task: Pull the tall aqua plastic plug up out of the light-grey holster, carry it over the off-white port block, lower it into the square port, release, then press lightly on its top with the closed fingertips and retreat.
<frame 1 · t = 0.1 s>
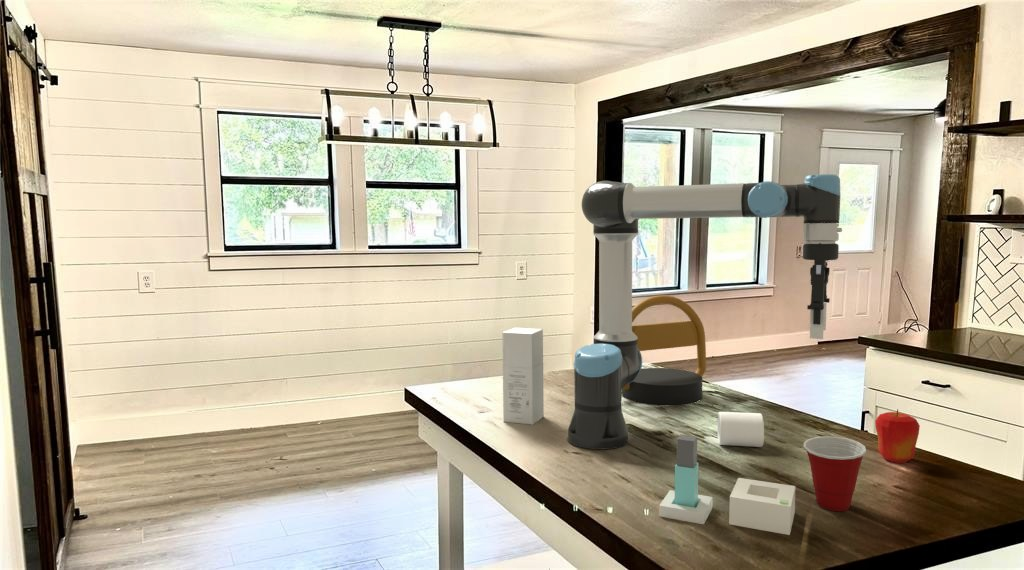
hand: (818, 334, 160), 28 cm above the countertop, fingers open, 13 cm apart
plastic cup: (832, 506, 132), on the countertop
chair: (661, 395, 217), on the countertop
holster: (686, 516, 127), on the countertop
port: (762, 523, 124), on the countertop
tall white carton: (523, 419, 192), on the countertop
apple: (895, 460, 157), on the countertop
plug: (686, 511, 127), point 1 cm above the countertop, touching holster
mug: (738, 443, 170), on the countertop
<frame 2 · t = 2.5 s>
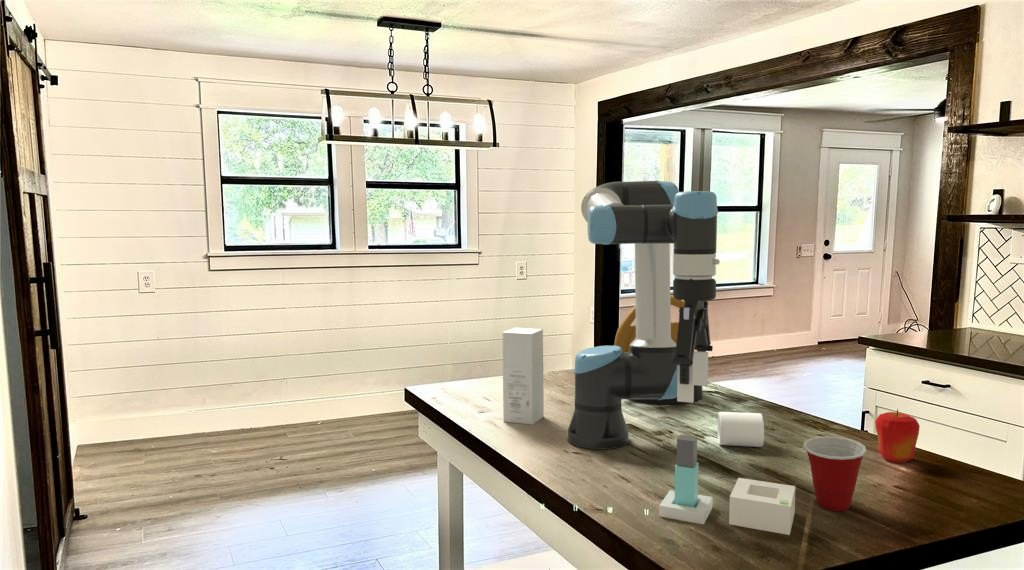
hand: (693, 393, 126), 23 cm above the countertop, fingers open, 13 cm apart
nothing on the countertop moved.
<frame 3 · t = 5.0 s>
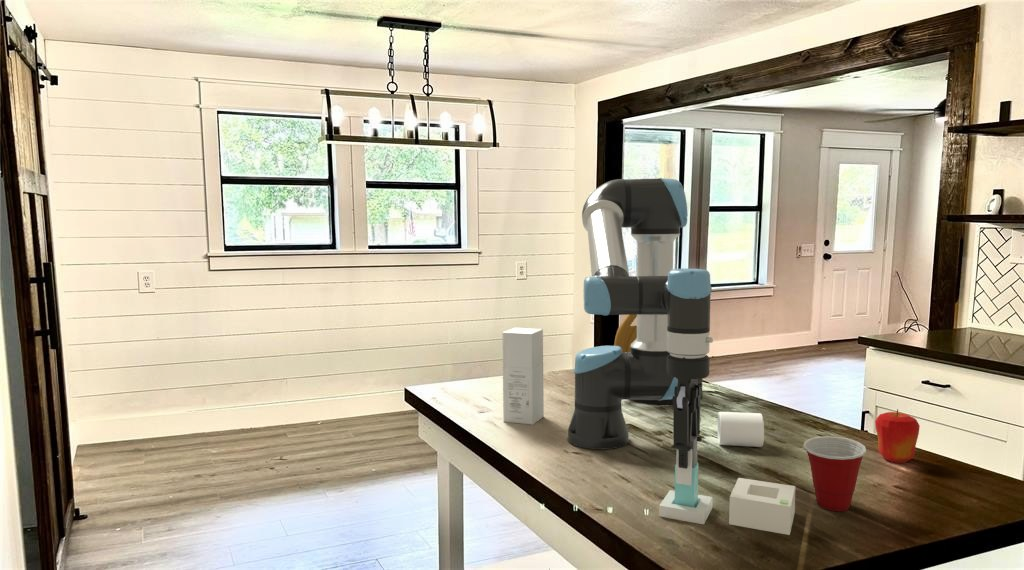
hand: (686, 479, 127), 7 cm above the countertop, fingers closed on plug, 3 cm apart
plug: (686, 511, 127), point 1 cm above the countertop, touching gripper, holster
everything else where it was.
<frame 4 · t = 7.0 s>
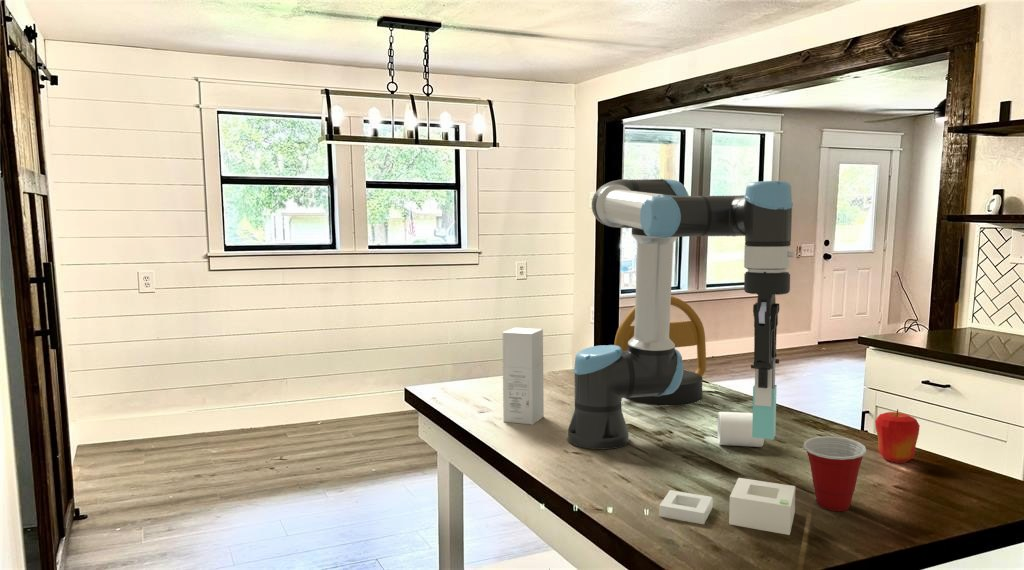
hand: (764, 402, 122), 22 cm above the countertop, fingers closed on plug, 3 cm apart
plug: (763, 435, 123), point 16 cm above the countertop, touching gripper
everything else where it was.
when the fingers open (8 cm above the countertop, at t = 9.2 s): plug stays where it is, resting on port.
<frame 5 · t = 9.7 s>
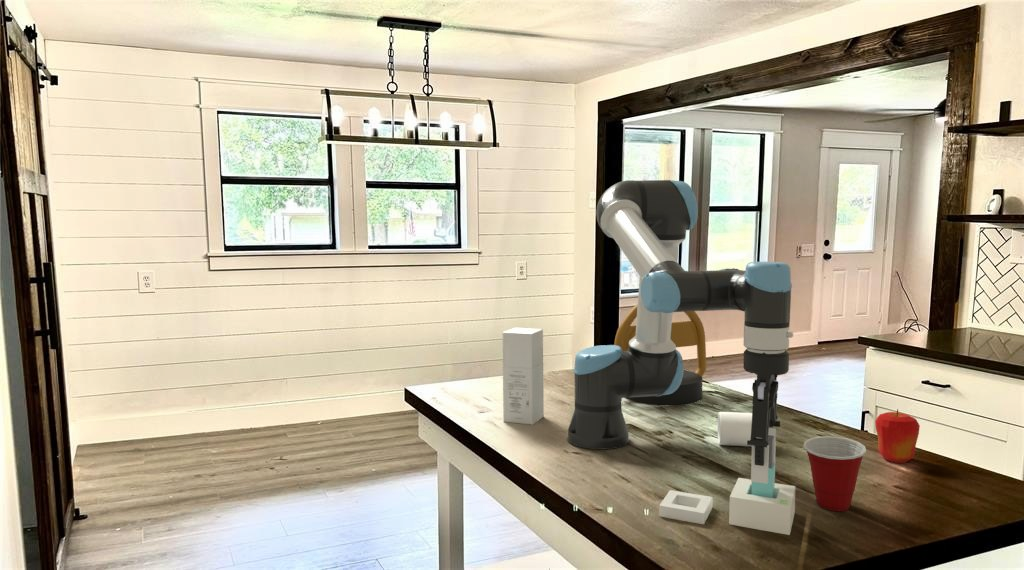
hand: (763, 471, 123), 10 cm above the countertop, fingers open, 10 cm apart
plug: (762, 512, 124), point 2 cm above the countertop, touching port
everything else where it was.
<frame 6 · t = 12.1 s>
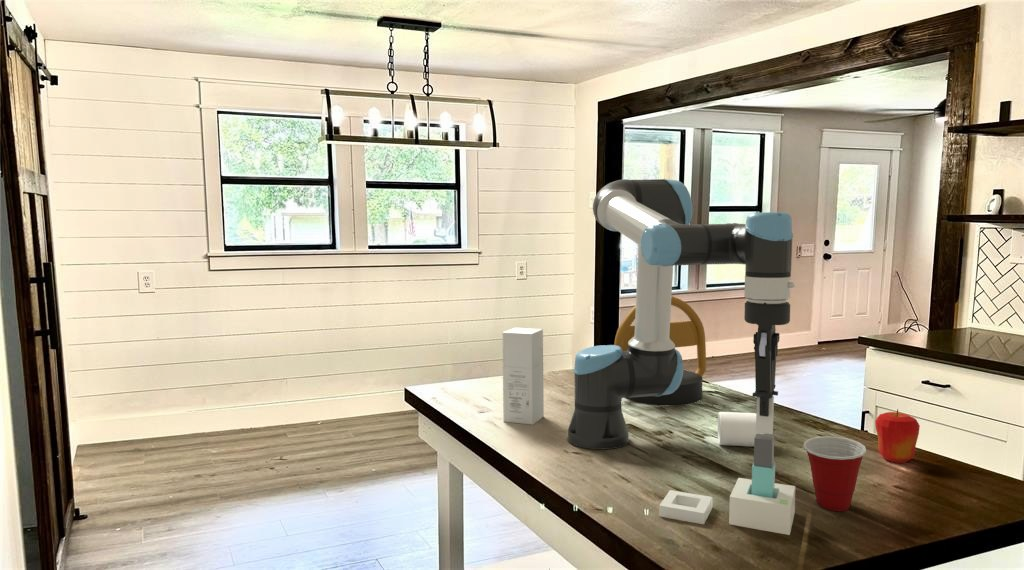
hand: (764, 432, 123), 17 cm above the countertop, fingers closed
nothing on the countertop moved.
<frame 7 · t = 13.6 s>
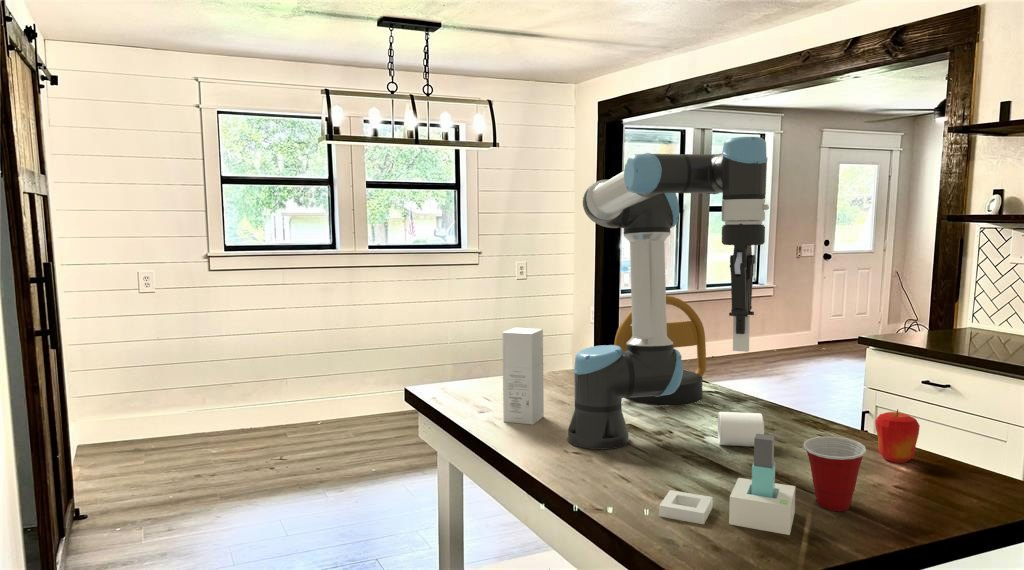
hand: (740, 350, 128), 30 cm above the countertop, fingers closed
nothing on the countertop moved.
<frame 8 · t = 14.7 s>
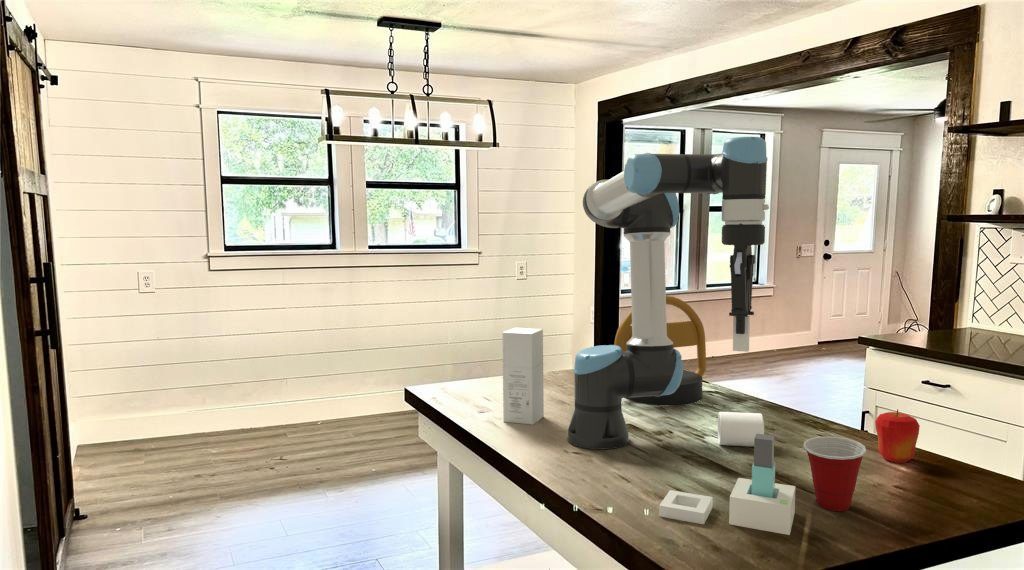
hand: (740, 350, 128), 30 cm above the countertop, fingers closed
nothing on the countertop moved.
at the end: plug 0.0 cm off-centre on the port, point 2.0 cm above the port's base; plug tilted 0°; the gripper is holding nothing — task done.
